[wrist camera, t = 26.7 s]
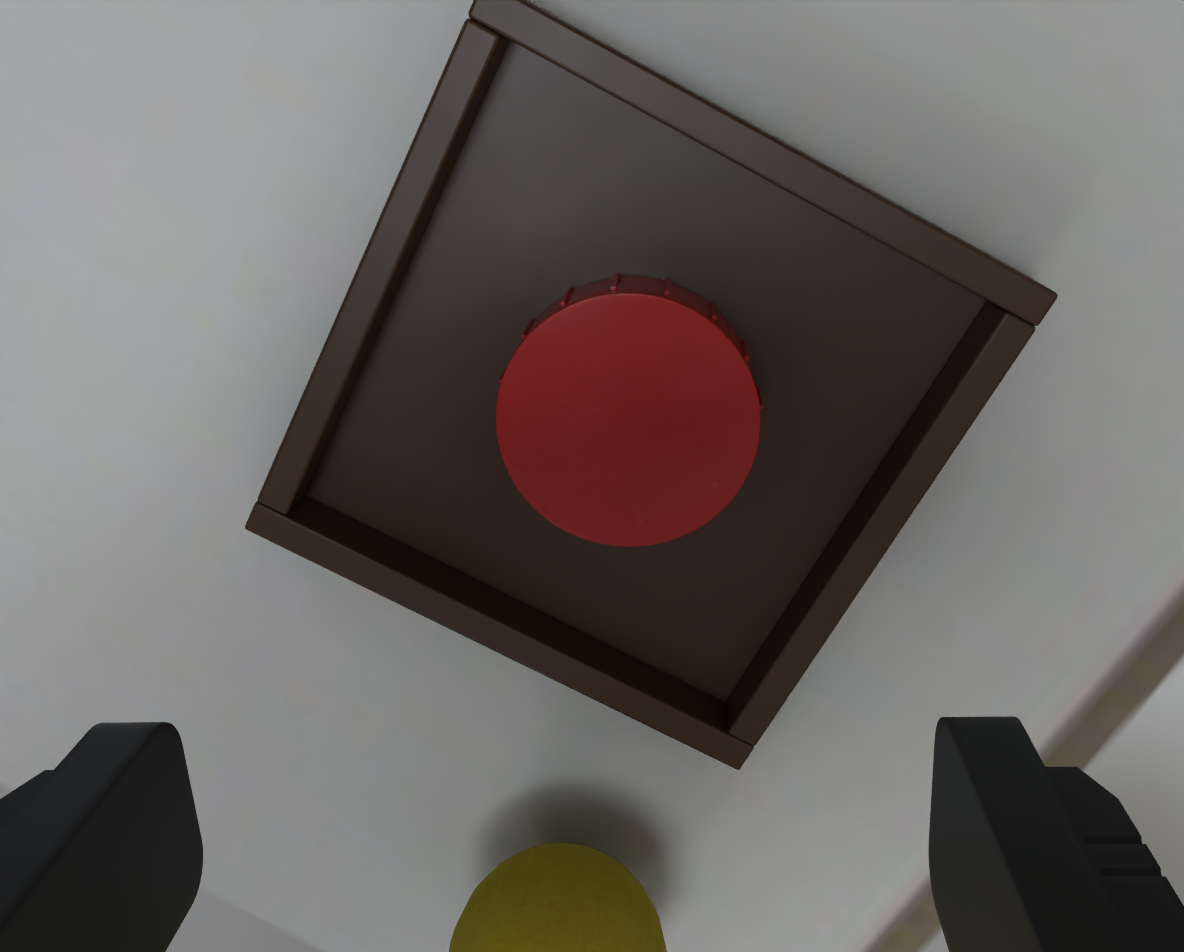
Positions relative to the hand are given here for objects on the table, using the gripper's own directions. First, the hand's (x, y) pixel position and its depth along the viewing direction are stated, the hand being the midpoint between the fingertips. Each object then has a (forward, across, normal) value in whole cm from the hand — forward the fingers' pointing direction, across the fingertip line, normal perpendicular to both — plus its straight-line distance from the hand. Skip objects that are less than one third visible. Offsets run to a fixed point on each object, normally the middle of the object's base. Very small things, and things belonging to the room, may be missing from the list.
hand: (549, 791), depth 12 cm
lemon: (+16, +2, +14) cm, 22 cm away
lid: (+14, 0, 0) cm, 14 cm away
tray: (+16, 0, 0) cm, 16 cm away
